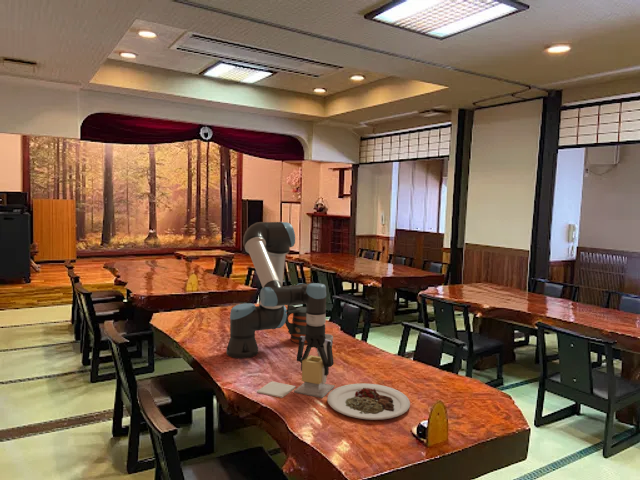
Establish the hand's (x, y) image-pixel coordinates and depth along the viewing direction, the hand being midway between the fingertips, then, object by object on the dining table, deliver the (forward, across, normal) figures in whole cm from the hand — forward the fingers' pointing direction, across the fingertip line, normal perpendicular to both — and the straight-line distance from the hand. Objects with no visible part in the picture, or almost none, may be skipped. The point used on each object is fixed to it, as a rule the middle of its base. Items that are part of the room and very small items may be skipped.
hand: (314, 381), depth 184 cm
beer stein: (+4, -33, +55) cm, 64 cm away
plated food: (+4, +23, -3) cm, 24 cm away
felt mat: (+3, -13, -7) cm, 15 cm away
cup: (+4, -12, +37) cm, 39 cm away
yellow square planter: (-1, 0, 0) cm, 1 cm away
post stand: (+3, 0, 0) cm, 3 cm away
